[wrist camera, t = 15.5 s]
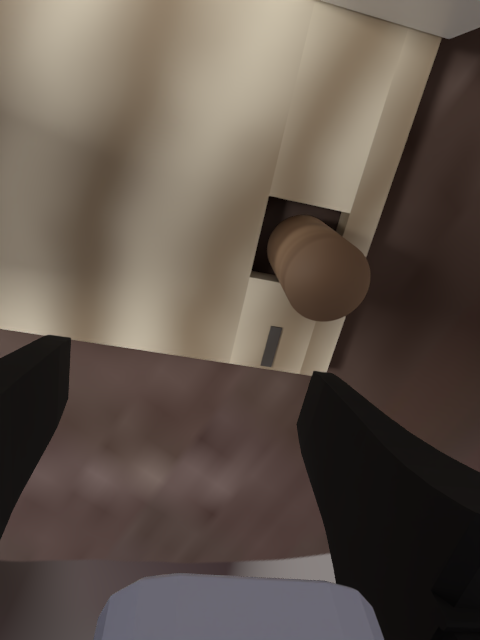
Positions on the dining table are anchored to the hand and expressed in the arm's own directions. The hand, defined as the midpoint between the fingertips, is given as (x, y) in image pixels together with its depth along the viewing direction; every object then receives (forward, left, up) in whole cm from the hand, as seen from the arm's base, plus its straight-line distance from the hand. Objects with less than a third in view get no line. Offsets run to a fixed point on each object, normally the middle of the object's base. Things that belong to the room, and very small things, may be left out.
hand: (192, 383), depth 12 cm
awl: (+5, +3, -10) cm, 12 cm away
